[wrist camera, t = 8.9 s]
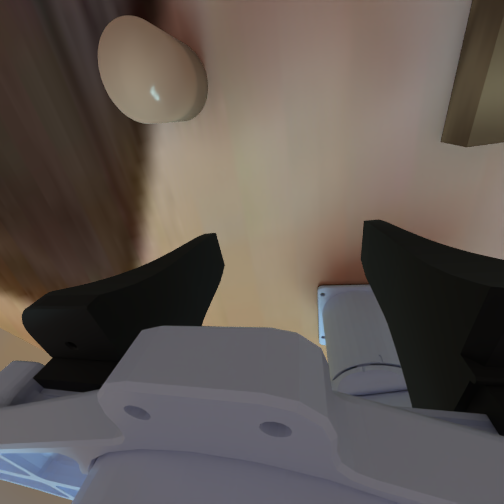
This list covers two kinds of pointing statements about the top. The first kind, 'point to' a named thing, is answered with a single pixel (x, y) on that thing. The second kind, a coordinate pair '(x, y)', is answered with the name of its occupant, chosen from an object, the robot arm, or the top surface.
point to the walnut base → (479, 80)
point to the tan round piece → (150, 72)
